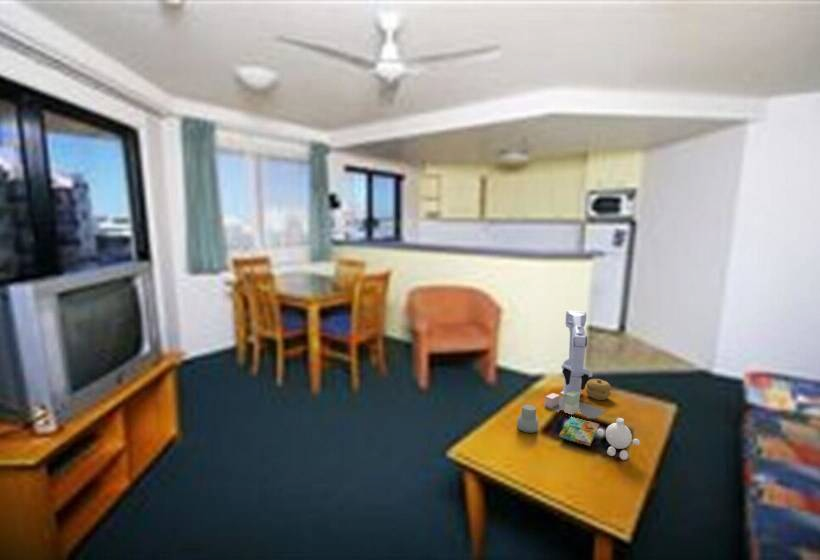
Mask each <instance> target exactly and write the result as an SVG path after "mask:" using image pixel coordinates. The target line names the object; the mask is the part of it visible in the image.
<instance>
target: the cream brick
mask: <svg viewBox="0 0 820 560" xmlns="http://www.w3.org/2000/svg"><path fill="white" fill-rule="evenodd" d="M578 409H579V402H578V403H577V404H575V405H573V406H571V405H568V404H565V408H564V412H565V413H568V414H571V415H572V414H574V413H576V412H578Z"/></svg>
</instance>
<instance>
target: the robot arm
mask: <svg viewBox="0 0 820 560" xmlns="http://www.w3.org/2000/svg"><path fill="white" fill-rule="evenodd" d="M586 322H587V312H586V311H584V310H583V311H582V310H581V311H577V310H570V309H567V310H566V312H565V327H566V328H568V329H569V348H568V349H569V350H568V359H565V360H564V361H563V363H562V364H561V369H562V370H561V373H562V376H563V377H564V381H563V390H562V391H561V392H559V394H562V395H563V396H566V394H567V393H569V392H571V391H573V390H574V391H577V392H579V393H580V396H581V395H583V392H582V391H584V390H585V389H586V386H587V385H586V384H587V382H588V381H589V380H590V378H591V377H593V373H594V372H592V371H589V370H588V369H584V366H585V365H584V364H585V355H586V349H587V347H588V335H586V334H585V333H586V332H585V330H586V329H585V325H586Z"/></svg>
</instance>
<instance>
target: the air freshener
mask: <svg viewBox="0 0 820 560" xmlns="http://www.w3.org/2000/svg"><path fill="white" fill-rule="evenodd" d="M516 424H517V425H516V427H517V429H519V430H520V431H522V432H524V433H528V434H531V433H532V434H533V433H537V432H538V430H539V417H537V407H535V406H534V405H531V404H524V405H522V406H521V414H519V415H518V417H517V423H516Z"/></svg>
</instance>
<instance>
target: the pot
mask: <svg viewBox="0 0 820 560" xmlns="http://www.w3.org/2000/svg"><path fill="white" fill-rule="evenodd" d="M611 390H612V386H611V384H610V383H609V382H608V381H606V380H605V379H604V380H603V379H600V378H591V379H589V380H588V381H587V383H586V385H585V392H586V394H587V395H588V396H589V397H590V398H592V399H593V400H597V401H602V400H603V401H604V400H607V399H608V398H609V397H610V396H611V393H612V392H611Z"/></svg>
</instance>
